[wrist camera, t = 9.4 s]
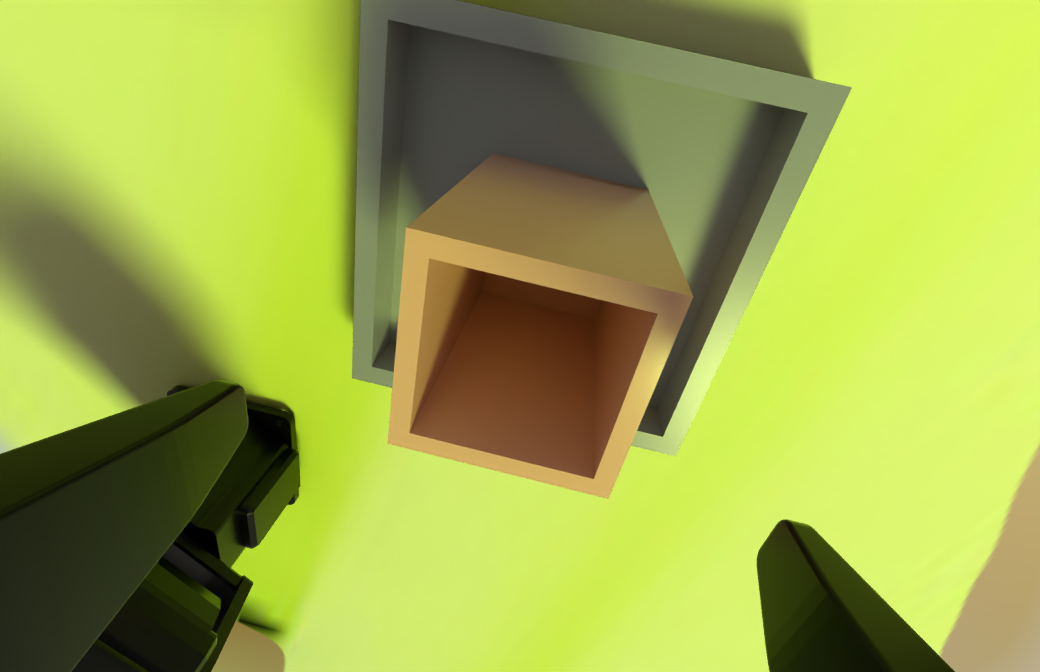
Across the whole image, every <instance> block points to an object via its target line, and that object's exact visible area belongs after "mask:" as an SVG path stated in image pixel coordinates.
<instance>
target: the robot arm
mask: <svg viewBox="0 0 1040 672" xmlns="http://www.w3.org/2000/svg"><path fill="white" fill-rule="evenodd" d="M283 421H284V422H283ZM299 487H300V469H299V454H298V452H297V450H296V432H295V420H294V417H293V416H292V415H291V414H290V413H288V412H286V411H282V410H278V409H274V408H270V407H266V406H261V405H257V404H253V403H249V402H246V397H245V391H244V389H243V387H242V386H241V385H239V384H235V383H231V382H227V381H223V380H213V381H210V382H207V383H204V384H201V385H198V386H196V387H193V388H188V387H184V386H175V387H174V388H172V389H171V390H170V391H169V392H168V393H167V397H164V398H161V399H158V400H155V401H152V402H149V403H146V404H143V405H141V406H138V407H135V408H132V409H129V410H126V411H123V412H120V413H117V414H114V415H112V416H109V417H106V418H103V419H100V420H97V421H94V422H91V423H88V424H86V425H83V426H80V427H77V428H74V429H71V430H68V431H65V432H62V433H59V434H57V435H54V436H51V437H48V438H45V439H42V440H39V441H36V442H33V443H30V444H28V445H25V446H22V447H19V448H16V449H13V450H10V451H7V452H4V453H1V454H0V672H211V671H212V669H213V667H214V665H215V663H216V661H217V659H218V657H219V655H220V653H221V650H222V648H223V646H224V644H225V642H226V640H227V638H228V636H229V634H230V631H231V629H232V627H233V625H234V623H235V621H236V619H237V617H238V615H239V612H240V610H241V608H242V606H243V604H244V602H245V600H246V598H247V596H248V594H249V591H250V589H251V587H252V585H253V582H252V581H251V580H250V579H248V578H247V577H246V576H241V575H239V574H238V573H237V572H235V571H234V570H233V569H231V567H232V565H233V564H234V563H235V561H236V560H237V559H238V557H239V556H240V554H241V553H242V552H243V550H244V549H245V548H246V547H248V548H251V549H252V548H254V547H256V546H258V545H259V544H260V542H261V541H262V540H263V538H264V537H265V535H266V534H267V532H268V531H269V530H270V528H271V527H272V525H273V524H274V523H275V521H276V520H277V518H278V517H279V515H280V514H281V513H282V511H283V510H284V508H285V507H286V506H287V505H291V504H294V503H295V501H296V500H297V498H298V496H299V490H298V488H299ZM757 573H758V582H759V591H760V600H761V609H762V618H763V627H764V636H765V645H766V652H767V659H768V666H769V671H770V672H955V671H954V670H953V669H952V668H951V667H950V666H949V665H948V664H947V663H946V662H945V661H944V660H943V659H942V658H941V657H940V656H939V655H938V654H937V653H936V652H935V651H934V650H933V649H932V648H931V647H930V646H929V645H928V644H927V643H926V642H925V641H924V640H923V639H922V638H921V637H920V636H919V635H918V634H917V633H916V632H915V631H914V630H913V629H912V628H911V627H910V626H909V625H908V624H907V623H906V622H905V621H904V620H903V619H902V618H901V617H900V616H899V615H898V614H897V613H896V612H895V611H894V610H893V609H892V608H891V607H890V606H889V605H888V603H887V602H886V601H885V600H884V599H883V598H882V597H881V596H880V595H879V594H878V593H877V592H876V591H875V590H874V589H873V588H872V587H871V586H870V585H869V584H868V583H867V582H866V581H865V580H864V579H863V578H862V577H861V576H860V575H859V574H858V573H857V572H856V571H855V570H854V569H853V568H852V567H851V566H850V565H849V564H848V563H847V562H846V561H845V560H844V559H843V558H842V557H841V556H840V555H839V554H838V553H837V552H836V551H835V550H834V549H833V548H832V547H831V546H830V545H829V544H828V543H827V542H826V541H825V540H824V539H823V538H822V537H821V536H820V535H819V534H818V533H817V532H816V531H815V530H814V529H813V528H812V527H811V526H809V525H807V524H804V523H799V522H795V521H791V520H787V519H786V520H781V521H780V522H778V523H777V525H776V526H775V528H774V529H773V531H772V532H771V533H770V535H769V536H768V538H767V539H766V541H765V542H764V544H763V545H762V546H761V548H760V550H759V552H758V555H757Z"/></svg>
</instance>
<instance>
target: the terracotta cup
mask: <svg viewBox="0 0 1040 672" xmlns="http://www.w3.org/2000/svg"><path fill="white" fill-rule="evenodd" d="M692 299H693V295H692V292H691V290H690V288H689V285H688V283H687V280H686V278H685V276H684V273H683V271H682V268H681V266H680V264H679V261H678V259H677V257H676V254H675V252H674V249H673V247H672V245H671V242H670V240H669V237H668V235H667V233H666V230H665V228H664V226H663V223H662V221H661V218H660V216H659V214H658V211H657V209H656V206H655V204H654V202H653V199H652V197H651V195H650V192H649V190H647V189H643V188H639V187H635V186H631V185H626V184H622V183H618V182H614V181H609V180H605V179H601V178H597V177H593V176H588V175H584V174H580V173H576V172H571V171H567V170H563V169H559V168H555V167H550V166H546V165H542V164H538V163H533V162H529V161H525V160H521V159H517V158H512V157H508V156H504V155H500V154H495V153H493V154H492V155H491V156H489V157H488V158H487V159H486V160H485V161H484V162H482V163H481V164H480V165H479V166H478V167H477V168H475V169H474V170H473V171H472V172H471V173H469V174H468V175H467V176H466V177H465V178H464V179H462V180H461V181H460V182H459V183H458V184H457V185H455V186H454V187H453V188H452V189H451V190H449V191H448V192H447V193H446V194H445V195H444V196H442V197H441V198H440V199H439V200H438V201H437V202H435V203H434V204H433V205H432V206H431V207H429V208H428V209H427V210H426V211H425V212H424V213H422V214H421V215H420V216H419V217H418V218H416V219H415V220H414V221H413V222H412V223H411V224H409V225H408V226H407V227H406V234H405V246H404V258H403V269H402V281H401V293H400V305H399V317H398V329H397V340H396V352H395V364H394V376H393V388H392V400H391V411H390V423H389V435H388V444H392V445H396V446H400V447H404V448H408V449H412V450H416V451H420V452H424V453H428V454H432V455H436V456H440V457H444V458H448V459H452V460H456V461H460V462H463V463H467V464H471V465H475V466H479V467H483V468H487V469H491V470H495V471H499V472H503V473H507V474H511V475H515V476H519V477H523V478H527V479H531V480H535V481H539V482H543V483H547V484H551V485H555V486H559V487H563V488H567V489H571V490H575V491H579V492H583V493H587V494H591V495H595V496H599V497H603V498H607V499H608V498H609V496H610V494H611V491H612V489H613V487H614V484H615V482H616V479H617V477H618V475H619V472H620V470H621V467H622V465H623V463H624V460H625V458H626V456H627V453H628V451H629V448H630V446H631V444H632V441H633V439H634V437H635V434H636V432H637V429H638V427H639V425H640V422H641V420H642V418H643V415H644V413H645V410H646V408H647V406H648V403H649V401H650V398H651V396H652V394H653V391H654V389H655V387H656V384H657V382H658V379H659V377H660V375H661V372H662V370H663V368H664V365H665V363H666V360H667V358H668V356H669V353H670V351H671V349H672V346H673V344H674V341H675V339H676V337H677V334H678V332H679V329H680V327H681V325H682V322H683V320H684V318H685V315H686V313H687V310H688V308H689V306H690V303H691V301H692Z"/></svg>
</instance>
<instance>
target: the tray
mask: <svg viewBox="0 0 1040 672" xmlns="http://www.w3.org/2000/svg"><path fill="white" fill-rule="evenodd" d="M851 88H852V87H847V86H843V85H838V84H834V83H829V82H825V81H820V80H816V79H811V78H807V77H802V76H798V75H793V74H789V73H784V72H779V71H775V70H770V69H766V68H761V67H757V66H752V65H748V64H743V63H739V62H734V61H730V60H725V59H721V58H716V57H712V56H707V55H703V54H698V53H693V52H689V51H684V50H680V49H675V48H671V47H666V46H662V45H657V44H653V43H648V42H644V41H639V40H635V39H630V38H626V37H621V36H616V35H612V34H607V33H603V32H598V31H594V30H589V29H585V28H580V27H576V26H571V25H567V24H562V23H558V22H553V21H549V20H544V19H539V18H535V17H530V16H526V15H521V14H517V13H512V12H508V11H503V10H499V9H494V8H490V7H485V6H481V5H476V4H472V3H467V2H463V1H458V0H361V8H360V52H359V96H358V140H357V184H356V228H355V272H354V316H353V360H352V378H354V379H358V380H362V381H366V382H370V383H374V384H378V385H383V386H387V387H391V388H393V376H394V364H395V352H396V340H397V329H398V317H399V305H400V293H401V281H402V269H403V258H404V246H405V234H406V227H407V226H408V225H409V224H411V223H412V222H413V221H414V220H415V219H416V218H418V217H419V216H420V215H421V214H422V213H424V212H425V211H426V210H427V209H428V208H429V207H431V206H432V205H433V204H434V203H435V202H437V201H438V200H439V199H440V198H441V197H442V196H444V195H445V194H446V193H447V192H448V191H449V190H451V189H452V188H453V187H454V186H455V185H457V184H458V183H459V182H460V181H461V180H462V179H464V178H465V177H466V176H467V175H468V174H469V173H471V172H472V171H473V170H474V169H475V168H477V167H478V166H479V165H480V164H481V163H482V162H484V161H485V160H486V159H487V158H488V157H489V156H491V155H492V154H493V153H495V154H500V155H504V156H508V157H512V158H517V159H521V160H525V161H529V162H533V163H538V164H542V165H546V166H550V167H555V168H559V169H563V170H567V171H571V172H576V173H580V174H584V175H588V176H593V177H597V178H601V179H605V180H609V181H614V182H618V183H622V184H626V185H631V186H635V187H639V188H643V189H647V190H649V192H650V195H651V197H652V199H653V202H654V204H655V206H656V209H657V211H658V214H659V216H660V218H661V221H662V223H663V226H664V228H665V230H666V233H667V235H668V237H669V240H670V242H671V245H672V247H673V249H674V252H675V254H676V257H677V259H678V261H679V264H680V266H681V268H682V271H683V273H684V276H685V278H686V280H687V283H688V285H689V288H690V290H691V292H692V295H693V299H692V301H691V303H690V306H689V308H688V310H687V313H686V315H685V318H684V320H683V322H682V325H681V327H680V329H679V332H678V334H677V337H676V339H675V341H674V344H673V346H672V349H671V351H670V353H669V356H668V358H667V360H666V363H665V365H664V368H663V370H662V372H661V375H660V377H659V379H658V382H657V384H656V387H655V389H654V391H653V394H652V396H651V398H650V401H649V403H648V406H647V408H646V410H645V413H644V415H643V418H642V420H641V422H640V425H639V427H638V429H637V432H636V434H635V437H634V439H633V441H632V444H631V446H635V447H639V448H643V449H647V450H652V451H656V452H660V453H664V454H668V455H672V456H676V455H677V453H678V450H679V448H680V446H681V444H682V442H683V440H684V438H685V436H686V434H687V432H688V429H689V427H690V425H691V423H692V421H693V419H694V417H695V415H696V413H697V411H698V409H699V406H700V404H701V402H702V400H703V398H704V396H705V394H706V392H707V390H708V388H709V386H710V383H711V381H712V379H713V377H714V375H715V373H716V371H717V369H718V367H719V365H720V362H721V360H722V358H723V356H724V354H725V352H726V350H727V348H728V346H729V344H730V342H731V339H732V337H733V335H734V333H735V331H736V329H737V327H738V325H739V323H740V321H741V319H742V316H743V314H744V312H745V310H746V308H747V306H748V304H749V302H750V300H751V298H752V296H753V293H754V291H755V289H756V287H757V285H758V283H759V281H760V279H761V277H762V275H763V272H764V270H765V268H766V266H767V264H768V262H769V260H770V258H771V256H772V254H773V252H774V249H775V247H776V245H777V243H778V241H779V239H780V237H781V235H782V233H783V231H784V229H785V226H786V224H787V222H788V220H789V218H790V216H791V214H792V212H793V210H794V208H795V205H796V203H797V201H798V199H799V197H800V195H801V193H802V191H803V189H804V187H805V185H806V182H807V180H808V178H809V176H810V174H811V172H812V170H813V168H814V166H815V164H816V162H817V159H818V157H819V155H820V153H821V151H822V149H823V147H824V145H825V143H826V141H827V138H828V136H829V134H830V132H831V130H832V128H833V126H834V124H835V122H836V120H837V118H838V115H839V113H840V111H841V109H842V107H843V105H844V103H845V101H846V99H847V97H848V95H849V92H850V90H851Z"/></svg>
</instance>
